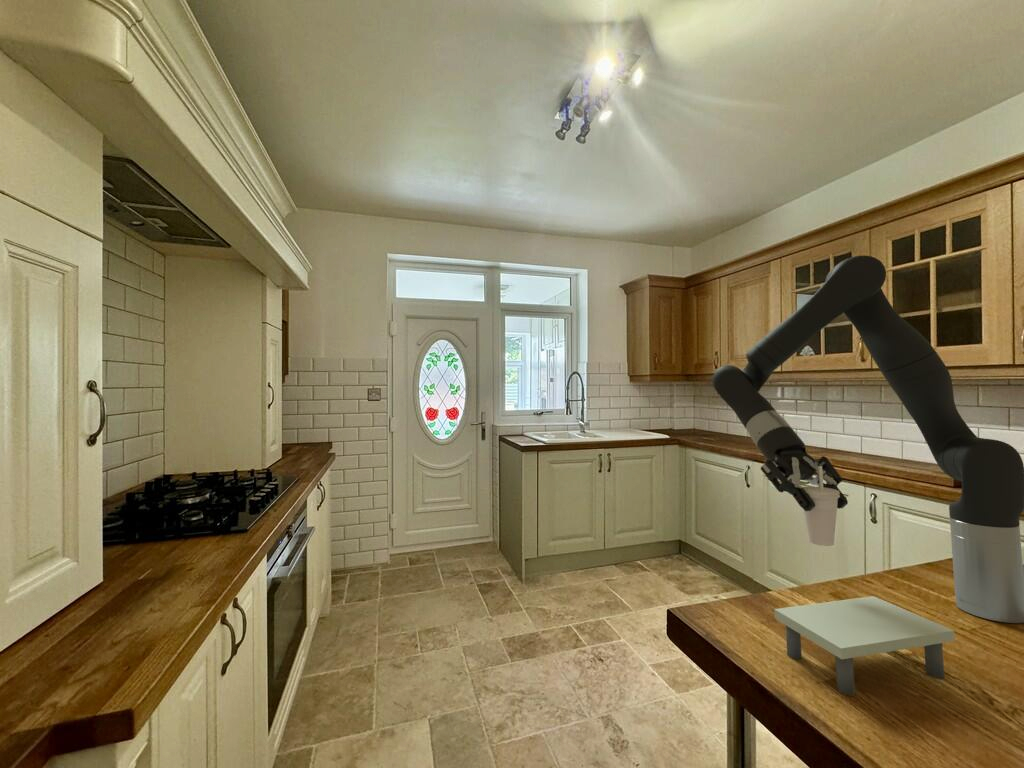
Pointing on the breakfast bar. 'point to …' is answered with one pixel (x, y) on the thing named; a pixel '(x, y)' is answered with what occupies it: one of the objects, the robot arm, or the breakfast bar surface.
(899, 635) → the small table
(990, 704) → the breakfast bar surface
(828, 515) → the smoothie
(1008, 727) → the breakfast bar surface
